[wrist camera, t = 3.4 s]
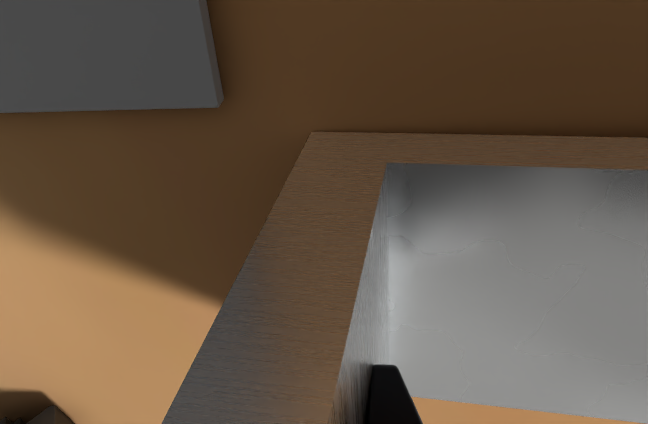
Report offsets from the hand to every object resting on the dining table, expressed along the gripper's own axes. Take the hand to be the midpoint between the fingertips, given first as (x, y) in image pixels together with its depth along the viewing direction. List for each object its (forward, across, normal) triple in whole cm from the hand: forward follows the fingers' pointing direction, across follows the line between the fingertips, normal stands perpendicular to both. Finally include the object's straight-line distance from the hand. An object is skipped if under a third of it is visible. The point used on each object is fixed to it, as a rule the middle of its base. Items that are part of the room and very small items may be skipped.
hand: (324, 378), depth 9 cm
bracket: (+3, -4, 0) cm, 5 cm away
